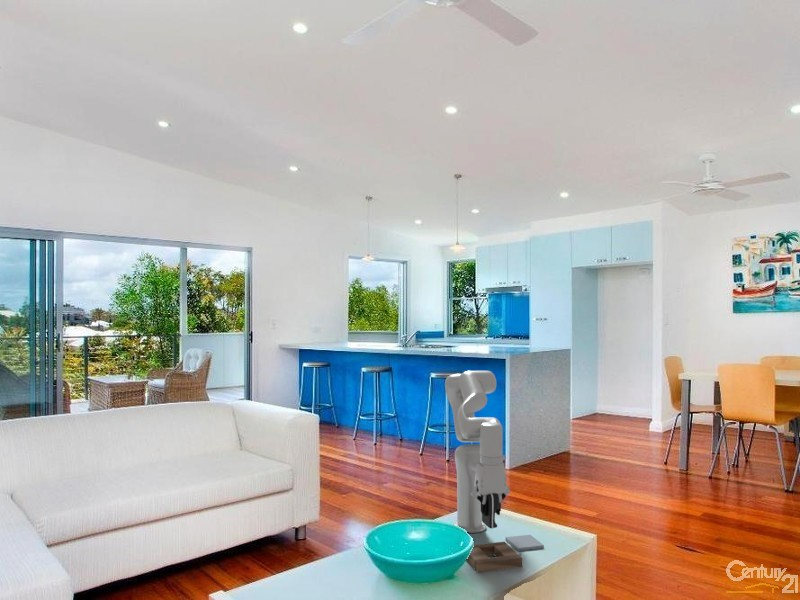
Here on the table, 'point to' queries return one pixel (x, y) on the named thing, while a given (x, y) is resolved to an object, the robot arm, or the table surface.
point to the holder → (503, 558)
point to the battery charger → (491, 510)
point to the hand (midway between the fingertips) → (490, 513)
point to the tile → (524, 542)
